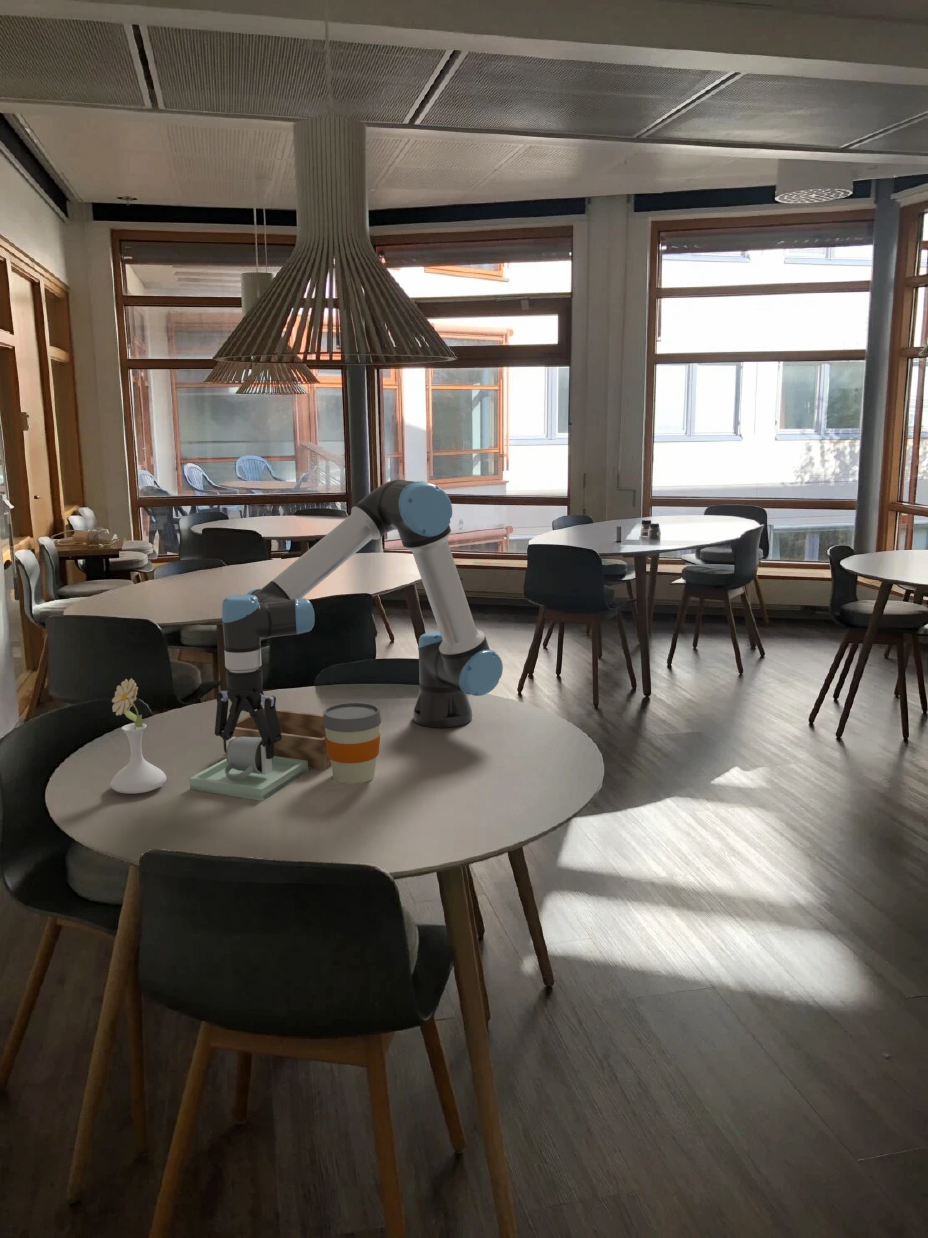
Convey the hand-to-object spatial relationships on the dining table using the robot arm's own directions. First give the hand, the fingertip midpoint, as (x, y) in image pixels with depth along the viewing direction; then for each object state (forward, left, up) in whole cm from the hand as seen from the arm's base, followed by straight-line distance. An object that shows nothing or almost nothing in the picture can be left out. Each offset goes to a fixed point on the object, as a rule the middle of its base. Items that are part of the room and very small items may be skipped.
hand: (250, 769), depth 212 cm
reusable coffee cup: (-20, -10, -3) cm, 23 cm away
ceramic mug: (0, +1, 0) cm, 1 cm away
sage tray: (0, 0, -2) cm, 2 cm away
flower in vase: (+19, +13, -3) cm, 23 cm away
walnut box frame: (+1, -19, -2) cm, 19 cm away
